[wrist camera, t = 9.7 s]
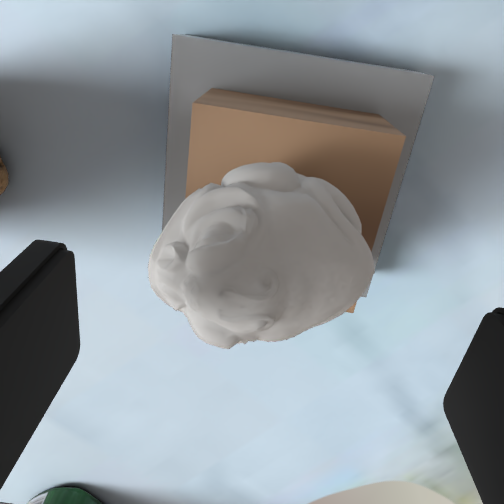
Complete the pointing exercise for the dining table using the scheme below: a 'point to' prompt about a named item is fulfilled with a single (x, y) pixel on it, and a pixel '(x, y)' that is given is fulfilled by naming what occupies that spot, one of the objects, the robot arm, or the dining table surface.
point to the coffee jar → (64, 497)
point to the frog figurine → (261, 256)
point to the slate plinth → (289, 88)
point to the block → (3, 177)
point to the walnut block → (296, 147)
